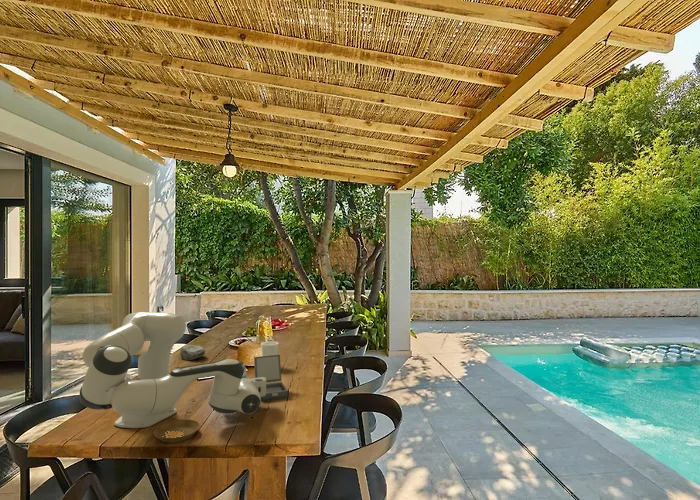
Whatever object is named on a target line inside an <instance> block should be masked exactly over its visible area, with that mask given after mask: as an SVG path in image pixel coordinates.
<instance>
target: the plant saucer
mask: <svg viewBox="0 0 700 500" xmlns="http://www.w3.org/2000/svg"><path fill="white" fill-rule="evenodd" d="M200 427H201V424H200V423H199V421H196V420H193V419H177V420H175V419H174V420H171V421H167V422H164V423H162V424H160V425H159V426H157V427H155V429H154V430H153V435H154V437H155V438H157V439H158V440H159V441H161V442H163V443H169V442H171V443H179V442H182V441H183V442H184V441H185V440H188V439H190V438H191V437H193V436H194V435H195V434H196V433H197V431H198V430H199V429H200ZM167 431H170V432H171V431H175V432H176V431H180V432H183V431H184V432H183V433H184V434H183V435H184V436H183V435H181V436H182V437H176V438H170V437H169V438H166V436H165V435H166V434H165V432H166V433H167V434H168V432H167ZM162 436H164V437H162ZM168 436H169V435H168Z"/></svg>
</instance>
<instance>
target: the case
mask: <svg viewBox="0 0 700 500" xmlns="http://www.w3.org/2000/svg"><path fill="white" fill-rule="evenodd" d="M289 393H290V392H289V389H288V388H287V387H286V386H285V384H284V383H283V382H282V381H277V382H269V383H266V395H265V396H263V397H261V402H267V401H274V400H280V399H289Z"/></svg>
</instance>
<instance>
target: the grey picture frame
mask: <svg viewBox="0 0 700 500" xmlns="http://www.w3.org/2000/svg"><path fill="white" fill-rule="evenodd" d="M253 365H254V378H259V377H265V378H266V384H267V383H275V382H282V372H281V371H282V368H281V355H280V354H277V355H271V356H262V355H261V356H254V357H253Z"/></svg>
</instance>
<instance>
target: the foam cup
mask: <svg viewBox="0 0 700 500" xmlns="http://www.w3.org/2000/svg"><path fill="white" fill-rule="evenodd" d="M279 344H280V343H279V342H278V341H263V342H261V343H260V349H261V356H271V355H278V352H279V347H280V345H279Z"/></svg>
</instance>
